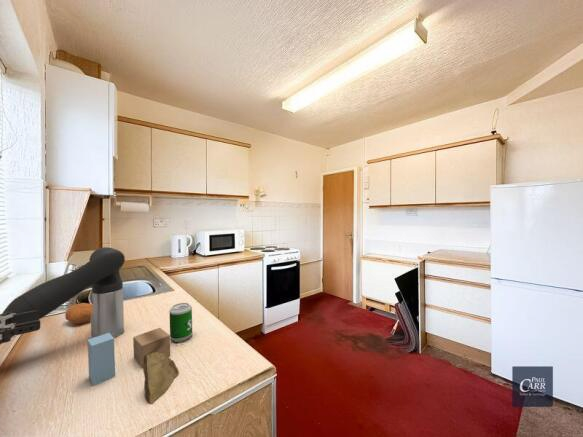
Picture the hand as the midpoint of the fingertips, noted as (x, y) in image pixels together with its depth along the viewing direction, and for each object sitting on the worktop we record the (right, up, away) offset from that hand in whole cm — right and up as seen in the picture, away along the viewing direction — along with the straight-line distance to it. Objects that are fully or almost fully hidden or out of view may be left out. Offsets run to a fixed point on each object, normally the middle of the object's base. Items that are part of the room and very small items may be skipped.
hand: (39, 319), depth 59 cm
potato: (-28, -20, +44) cm, 56 cm away
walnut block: (+17, -20, +19) cm, 32 cm away
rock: (+28, -21, +6) cm, 35 cm away
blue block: (+8, -20, +9) cm, 24 cm away
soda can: (+21, -20, +30) cm, 42 cm away
